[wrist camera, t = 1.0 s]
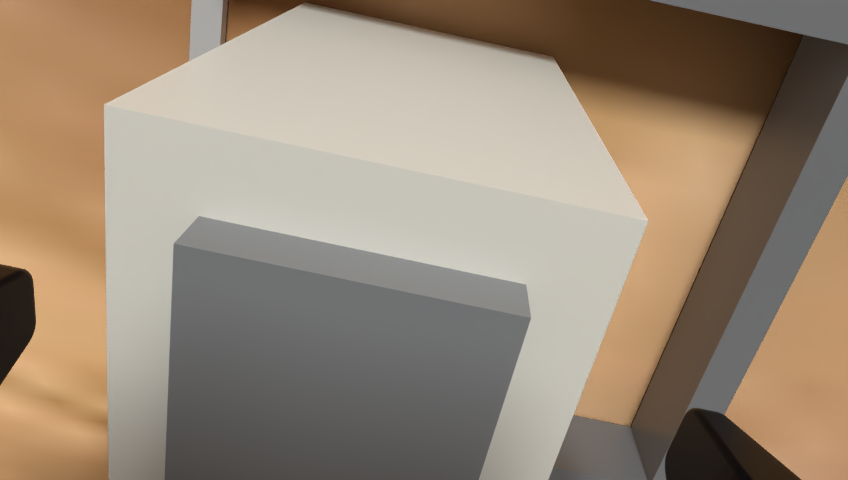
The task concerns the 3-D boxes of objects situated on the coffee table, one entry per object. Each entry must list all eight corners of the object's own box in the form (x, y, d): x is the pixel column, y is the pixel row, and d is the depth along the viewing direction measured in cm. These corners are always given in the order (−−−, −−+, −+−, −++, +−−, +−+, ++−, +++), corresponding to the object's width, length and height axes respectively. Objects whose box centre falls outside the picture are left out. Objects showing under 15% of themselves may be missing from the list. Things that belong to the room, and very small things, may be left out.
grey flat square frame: (866, -6, 12) (934, 7, 11) (650, 456, 17) (670, 517, 16) (205, -155, 12) (158, -169, 10) (180, 360, 17) (145, 413, 15)
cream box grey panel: (552, 56, 13) (666, 250, 6) (472, 342, 16) (472, 722, 9) (305, 1, 13) (67, 123, 5) (270, 300, 16) (87, 650, 8)
